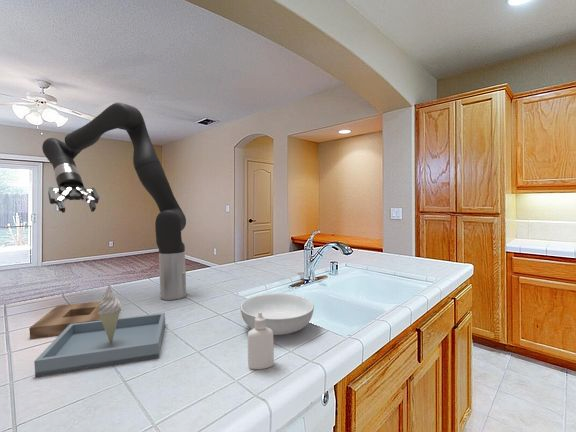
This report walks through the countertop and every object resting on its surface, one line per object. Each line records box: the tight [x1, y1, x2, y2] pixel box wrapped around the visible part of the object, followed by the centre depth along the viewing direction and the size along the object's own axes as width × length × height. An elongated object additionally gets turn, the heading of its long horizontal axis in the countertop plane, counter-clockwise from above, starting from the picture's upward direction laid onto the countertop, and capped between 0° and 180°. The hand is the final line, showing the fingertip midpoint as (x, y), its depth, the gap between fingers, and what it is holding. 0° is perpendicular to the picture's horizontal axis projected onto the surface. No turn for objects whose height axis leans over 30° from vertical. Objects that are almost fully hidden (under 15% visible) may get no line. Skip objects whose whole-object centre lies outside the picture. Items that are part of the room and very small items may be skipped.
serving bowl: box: [240, 293, 315, 336], centre depth 87 cm, size 21×21×7 cm
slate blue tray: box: [33, 312, 166, 378], centre depth 77 cm, size 24×20×4 cm
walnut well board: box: [29, 300, 102, 340], centre depth 93 cm, size 18×18×3 cm
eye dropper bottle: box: [247, 312, 275, 370], centre depth 67 cm, size 4×6×12 cm
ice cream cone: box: [98, 284, 122, 343], centre depth 77 cm, size 5×5×15 cm
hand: (79, 210), depth 104 cm, fingers open, 8 cm apart
